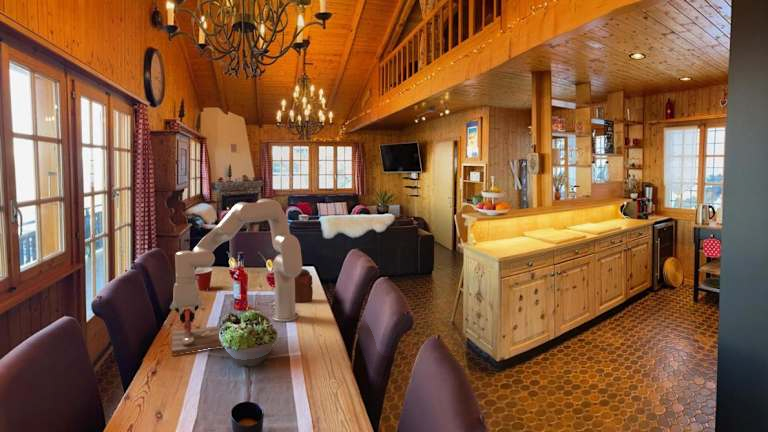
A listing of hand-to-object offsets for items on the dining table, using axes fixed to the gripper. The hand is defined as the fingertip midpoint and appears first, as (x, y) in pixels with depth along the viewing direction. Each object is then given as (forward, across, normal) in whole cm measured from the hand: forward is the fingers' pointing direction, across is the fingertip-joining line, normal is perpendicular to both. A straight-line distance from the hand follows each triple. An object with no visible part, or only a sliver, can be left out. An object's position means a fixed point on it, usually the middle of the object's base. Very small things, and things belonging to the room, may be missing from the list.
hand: (187, 321), depth 194 cm
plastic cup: (+7, -10, -79) cm, 80 cm away
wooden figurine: (+7, -58, -33) cm, 67 cm away
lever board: (+7, -4, +7) cm, 11 cm away
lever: (+5, 0, +7) cm, 9 cm away
